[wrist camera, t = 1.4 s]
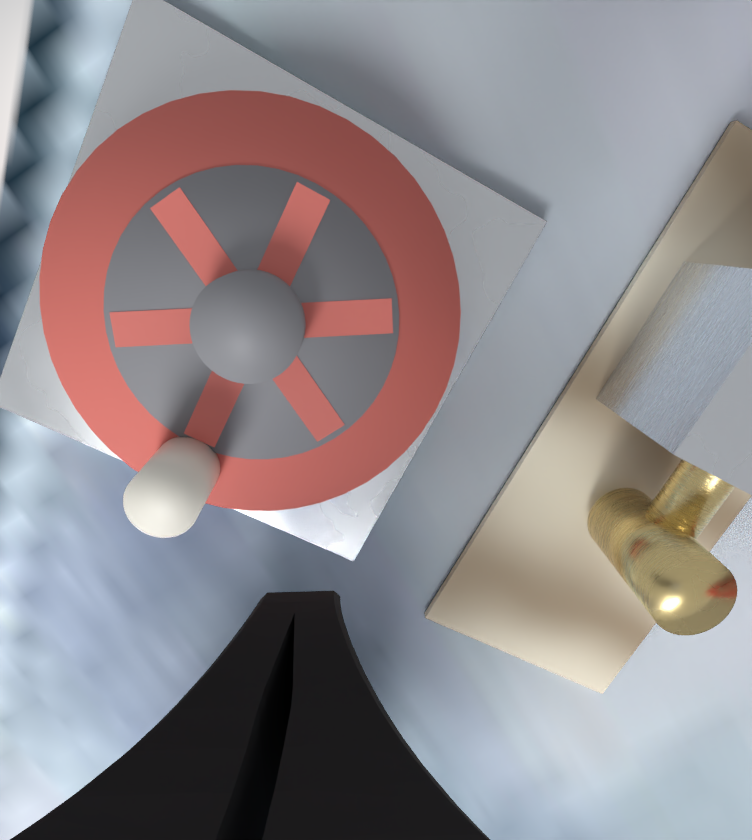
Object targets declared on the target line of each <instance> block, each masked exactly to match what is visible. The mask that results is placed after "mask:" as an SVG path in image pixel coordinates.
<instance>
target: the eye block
mask: <svg viewBox="0 0 752 840" xmlns="http://www.w3.org/2000/svg"><path fill="white" fill-rule="evenodd" d="M596 399H597V400H598V401H599V402H601V403H602V404H604V405H605V406H606V407H608V408H609V409H611V410H612V411H613V412H615V413H616V414H618V415H619V416H620V417H622V418H623V419H625V420H626V421H627V422H629V423H630V424H632V425H633V426H634V427H636V428H637V429H639V430H640V431H641V432H643V433H644V434H646V435H647V436H648V437H650V438H651V439H653V440H654V441H655V442H657V443H658V444H660V445H661V446H662V447H664V448H665V449H667V450H668V451H669V452H671V453H672V454H674V455H675V456H677V457H679V458H681V459H683V460H685V461H687V462H689V463H691V464H693V465H695V466H696V467H698V468H700V469H702V470H704V471H706V472H708V473H710V474H712V475H714V476H716V477H718V478H719V479H721V480H723V481H725V482H727V483H729V484H731V485H733V486H735V487H737V488H739V489H741V490H742V491H744V492H746V493H748V494H750V495H752V269H749V268H740V267H731V266H721V265H712V264H703V263H693V262H683V264H682V265H681V267H680V268H679V270H678V271H677V273H676V275H675V276H674V278H673V279H672V281H671V282H670V284H669V285H668V287H667V289H666V290H665V292H664V293H663V295H662V296H661V298H660V299H659V301H658V303H657V304H656V306H655V307H654V309H653V310H652V312H651V314H650V315H649V317H648V318H647V320H646V321H645V323H644V324H643V326H642V328H641V329H640V331H639V332H638V334H637V335H636V337H635V338H634V340H633V342H632V343H631V345H630V346H629V348H628V349H627V351H626V352H625V354H624V356H623V357H622V359H621V360H620V362H619V363H618V365H617V366H616V368H615V370H614V371H613V373H612V374H611V376H610V377H609V379H608V381H607V382H606V384H605V385H604V387H603V388H602V390H601V391H600V393H599V395H598V396H597V398H596Z"/></svg>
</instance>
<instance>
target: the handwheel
mask: <svg viewBox="0 0 752 840" xmlns="http://www.w3.org/2000/svg"><path fill="white" fill-rule="evenodd" d="M39 279H40V310H41V317H42V324H43V331H44V335H45V339H46V342H47V346H48V350H49V353H50V357H51V360H52V363H53V365H54V367H55V370H56V372H57V374H58V377H59V379H60V382H61V384H62V386H63V388H64V389H65V391H66V393H67V395H68V396H69V398H70V400H71V402H72V403H73V405H74V407H75V409H76V410H77V411H78V413H79V414H80V415H81V417H82V418H83V419H84V421H85V422H86V424H87V425H88V426H89V428H90V429H91V430H92V431H93V432H94V433H95V435H96V436H97V437H98V438H99V439H100V440H101V441H102V442H103V443H104V444H105V445H106V446H107V447H108V448H109V449H110V450H111V451H112V452H113V453H114V454H116V455H117V456H118V457H119V458H120V459H121V460H123V461H124V462H125V463H126V464H127V465H129V466H130V467H131V468H133V469H134V470H136V471H137V472H138V473H137V474H136V476H135V477H134V478H133V479H132V480H131V481H130V483H129V484H128V485H127V487H126V489H125V492H124V496H123V506H124V510H125V513H126V515H127V517H128V519H129V520H130V521H131V523H132V524H133V525H134V526H135V527H136V528H138V529H139V530H140V531H142V532H143V533H146V534H148V535H150V536H154V537H159V538H170V537H175V536H178V535H181V534H183V533H185V532H186V531H187V530H189V529H190V528H191V527H192V525H193V524H194V523H195V521H196V519H197V517H198V516H199V514H200V512H201V510H202V508H203V506H204V504H205V503H206V504H210V505H215V506H219V507H223V508H230V509H238V510H247V511H277V510H285V509H294V508H300V507H304V506H309V505H313V504H317V503H321V502H324V501H327V500H329V499H332V498H335V497H337V496H340V495H343V494H345V493H347V492H349V491H351V490H353V489H355V488H357V487H359V486H361V485H363V484H364V483H366V482H368V481H369V480H371V479H372V478H374V477H375V476H377V475H378V474H379V473H381V472H382V471H384V470H385V469H387V468H388V467H389V466H390V465H391V464H392V463H393V462H394V461H395V460H397V459H398V458H399V457H400V456H401V455H402V454H403V453H404V452H405V451H406V450H407V449H408V448H409V447H410V446H411V444H412V443H413V442H414V441H415V440H416V439H417V437H418V436H419V435H420V434H421V433H422V431H423V430H424V428H425V426H426V425H427V423H428V422H429V420H430V419H431V417H432V416H433V414H434V413H435V411H436V409H437V407H438V405H439V403H440V401H441V399H442V396H443V394H444V392H445V390H446V388H447V385H448V382H449V379H450V376H451V373H452V370H453V367H454V363H455V358H456V353H457V348H458V342H459V334H460V318H461V306H460V292H459V282H458V277H457V272H456V267H455V262H454V257H453V254H452V251H451V248H450V245H449V242H448V239H447V236H446V233H445V230H444V228H443V226H442V224H441V222H440V220H439V218H438V216H437V214H436V212H435V210H434V208H433V206H432V204H431V202H430V201H429V199H428V198H427V196H426V195H425V193H424V192H423V190H422V189H421V187H420V186H419V184H418V183H417V181H416V180H415V178H414V177H413V176H412V175H411V174H410V173H409V172H408V170H407V169H406V168H405V167H404V166H403V165H402V163H401V162H400V161H399V160H398V159H397V158H396V157H395V156H394V155H393V154H392V153H391V152H390V151H389V150H387V149H386V148H385V147H384V146H383V145H382V144H381V143H380V142H378V141H377V140H376V139H375V138H374V137H373V136H371V135H370V134H368V133H367V132H365V131H364V130H362V129H361V128H359V127H358V126H356V125H355V124H353V123H352V122H350V121H349V120H347V119H345V118H343V117H341V116H339V115H337V114H335V113H333V112H331V111H329V110H327V109H325V108H323V107H321V106H318V105H315V104H312V103H309V102H306V101H303V100H300V99H297V98H293V97H290V96H285V95H279V94H274V93H268V92H262V91H241V90H226V91H218V92H209V93H200V94H196V95H192V96H188V97H185V98H181V99H177V100H174V101H170V102H168V103H165V104H163V105H161V106H159V107H156V108H154V109H152V110H150V111H147V112H145V113H143V114H141V115H140V116H138V117H136V118H135V119H133V120H132V121H130V122H129V123H127V124H125V125H124V126H122V127H121V128H119V129H118V130H116V131H115V132H114V133H113V134H112V135H111V136H110V137H108V138H107V139H106V140H105V141H104V142H103V143H101V144H100V145H99V146H98V147H97V148H96V149H95V150H94V151H93V152H92V154H91V155H90V156H89V157H88V158H87V159H86V161H85V162H84V163H83V164H82V165H81V166H80V168H79V169H78V170H77V171H76V173H75V175H74V176H73V178H72V179H71V181H70V183H69V184H68V186H67V188H66V189H65V191H64V192H63V194H62V196H61V198H60V200H59V203H58V205H57V207H56V210H55V212H54V214H53V217H52V219H51V221H50V225H49V229H48V232H47V236H46V240H45V243H44V247H43V253H42V261H41V269H40V277H39Z"/></svg>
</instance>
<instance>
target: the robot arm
mask: <svg viewBox="0 0 752 840" xmlns="http://www.w3.org/2000/svg"><path fill="white" fill-rule="evenodd" d="M10 840H490V839H489V838H488V837H487V836H486V835H485V834H484V833H483V832H482V831H481V830H480V829H479V828H478V827H477V826H476V825H475V824H474V823H473V822H472V821H471V820H470V819H469V817H468V816H467V815H466V814H465V813H464V812H463V811H462V810H461V809H460V808H459V807H458V806H457V805H456V804H455V802H454V801H453V800H452V799H451V798H450V796H449V795H448V794H447V793H446V792H445V791H444V789H443V788H442V787H441V786H440V785H439V783H438V782H437V781H436V780H435V779H434V778H433V776H432V775H431V774H430V773H429V772H428V770H427V769H426V768H425V767H424V766H423V764H422V763H421V762H420V761H419V759H418V758H417V756H416V755H415V754H414V752H413V751H412V750H411V748H410V747H409V745H408V744H407V743H406V741H405V740H404V739H403V737H402V736H401V734H400V733H399V731H398V730H397V728H396V727H395V725H394V724H393V722H392V721H391V719H390V717H389V716H388V714H387V712H386V711H385V709H384V707H383V706H382V704H381V702H380V701H379V699H378V697H377V695H376V693H375V692H374V690H373V688H372V686H371V684H370V682H369V680H368V678H367V676H366V674H365V672H364V670H363V668H362V666H361V664H360V662H359V659H358V657H357V655H356V652H355V650H354V648H353V646H352V643H351V641H350V638H349V635H348V632H347V629H346V626H345V623H344V620H343V616H342V612H341V606H340V596H339V595H338V594H337V593H336V592H335V591H311V592H276V593H267V594H266V595H265V596H264V597H263V598H262V599H261V600H260V602H259V603H258V605H257V606H256V607H255V609H254V610H253V612H252V613H251V615H250V616H249V618H248V619H247V620H246V622H245V623H244V624H243V626H242V627H241V629H240V630H239V631H238V633H237V634H236V635H235V637H234V638H233V639H232V640H231V642H230V643H229V644H228V646H227V647H226V648H225V649H224V651H223V652H222V653H221V654H220V656H219V657H218V658H217V659H216V661H215V662H214V663H213V664H212V665H211V667H210V668H209V669H208V670H207V671H206V673H205V674H204V675H203V676H202V677H201V678H200V679H199V680H198V681H197V683H196V684H195V685H194V686H193V687H192V688H191V689H190V690H189V691H188V693H187V694H186V695H185V696H184V697H183V698H182V699H181V700H180V701H179V703H178V704H177V705H176V706H175V707H174V708H173V709H172V710H171V711H170V712H169V713H168V714H167V715H166V716H165V717H164V718H163V719H162V720H161V721H160V722H159V723H158V724H157V725H156V726H155V727H154V728H153V729H152V730H151V731H149V732H148V733H147V734H146V735H145V736H144V737H143V738H142V739H141V740H140V741H139V742H138V743H137V744H136V745H134V746H133V747H132V748H131V749H130V750H129V751H128V752H126V753H125V754H124V755H123V756H122V757H121V758H119V759H118V760H117V761H116V762H114V763H113V764H112V765H111V766H109V767H108V768H107V769H106V770H104V771H103V772H102V773H101V774H100V775H98V776H97V777H96V778H95V779H93V780H92V781H91V782H90V783H88V784H87V785H86V786H85V787H83V788H82V789H81V790H80V791H78V792H77V793H76V794H74V795H73V796H72V797H70V798H69V799H68V800H66V801H65V802H64V803H62V804H61V805H59V806H58V807H57V808H55V809H54V810H52V811H51V812H50V813H48V814H47V815H46V816H44V817H43V818H41V819H40V820H38V821H37V822H35V823H34V824H32V825H31V826H30V827H28V828H27V829H25V830H24V831H22V832H21V833H19V834H18V835H16V836H15V837H13V838H12V839H10Z"/></svg>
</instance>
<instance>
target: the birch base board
mask: <svg viewBox="0 0 752 840" xmlns="http://www.w3.org/2000/svg"><path fill="white" fill-rule="evenodd" d="M683 262H693V263H703V264H712V265H721V266H731V267H740V268H749V269H752V130H751V129H749V128H748V127H746V126H745V125H743V124H742V123H740V122H739V121H737V120H736V121H733V122H730V124H729V126H728V127H727V129H726V130H725V132H724V134H723V135H722V137H721V138H720V140H719V142H718V143H717V145H716V147H715V148H714V150H713V151H712V153H711V155H710V156H709V158H708V159H707V161H706V163H705V164H704V166H703V167H702V169H701V171H700V172H699V174H698V175H697V177H696V179H695V180H694V182H693V183H692V185H691V187H690V188H689V190H688V191H687V193H686V195H685V196H684V198H683V199H682V201H681V203H680V204H679V206H678V207H677V209H676V211H675V212H674V214H673V215H672V217H671V219H670V220H669V222H668V223H667V225H666V227H665V228H664V230H663V231H662V233H661V235H660V236H659V238H658V240H657V241H656V243H655V244H654V246H653V248H652V249H651V251H650V252H649V254H648V256H647V257H646V259H645V260H644V262H643V264H642V265H641V267H640V268H639V270H638V272H637V273H636V275H635V276H634V278H633V280H632V281H631V283H630V284H629V286H628V288H627V289H626V291H625V292H624V294H623V296H622V297H621V299H620V300H619V302H618V304H617V305H616V307H615V308H614V310H613V312H612V313H611V315H610V316H609V318H608V320H607V321H606V323H605V324H604V326H603V328H602V329H601V331H600V332H599V334H598V336H597V337H596V339H595V341H594V342H593V344H592V345H591V347H590V349H589V350H588V352H587V353H586V355H585V357H584V358H583V360H582V361H581V363H580V365H579V366H578V368H577V369H576V371H575V373H574V374H573V376H572V377H571V379H570V381H569V382H568V384H567V385H566V387H565V389H564V390H563V392H562V393H561V395H560V397H559V398H558V400H557V401H556V403H555V405H554V406H553V408H552V409H551V411H550V413H549V414H548V416H547V417H546V419H545V421H544V422H543V424H542V425H541V427H540V429H539V430H538V432H537V433H536V435H535V437H534V438H533V440H532V442H531V443H530V445H529V446H528V448H527V450H526V451H525V453H524V454H523V456H522V458H521V459H520V461H519V462H518V464H517V466H516V467H515V469H514V470H513V472H512V474H511V475H510V477H509V478H508V480H507V482H506V483H505V485H504V486H503V488H502V490H501V491H500V493H499V494H498V496H497V498H496V499H495V501H494V502H493V504H492V506H491V507H490V509H489V510H488V512H487V514H486V515H485V517H484V518H483V520H482V522H481V523H480V525H479V526H478V528H477V530H476V531H475V533H474V535H473V536H472V538H471V539H470V541H469V543H468V544H467V546H466V547H465V549H464V551H463V552H462V554H461V555H460V557H459V559H458V560H457V562H456V563H455V565H454V567H453V568H452V570H451V571H450V573H449V575H448V576H447V578H446V579H445V581H444V583H443V584H442V586H441V587H440V589H439V591H438V592H437V594H436V595H435V597H434V599H433V600H432V602H431V603H430V605H429V607H428V608H427V610H426V611H425V613H424V614H425V618H426V619H429V620H431V621H433V622H436V623H438V624H440V625H443V626H445V627H447V628H450V629H452V630H454V631H457V632H459V633H461V634H464V635H466V636H468V637H471V638H473V639H475V640H478V641H480V642H482V643H485V644H487V645H489V646H492V647H494V648H496V649H499V650H501V651H503V652H506V653H508V654H510V655H513V656H515V657H517V658H520V659H522V660H524V661H527V662H529V663H531V664H534V665H536V666H538V667H541V668H543V669H545V670H548V671H550V672H552V673H555V674H557V675H559V676H562V677H564V678H566V679H569V680H571V681H573V682H576V683H578V684H580V685H583V686H585V687H587V688H590V689H592V690H594V691H597V692H599V693H601V694H603V693H604V691H605V690H606V689H607V687H608V686H609V685H610V683H611V682H612V681H613V679H614V678H615V677H616V675H617V674H618V673H619V671H620V670H621V669H622V667H623V666H624V665H625V663H626V662H627V661H628V659H629V658H630V657H631V655H632V654H633V653H634V651H635V650H636V649H637V647H638V646H639V645H640V643H641V642H642V641H643V639H644V638H645V637H646V635H647V634H648V633H649V631H650V630H651V629H652V627H653V626H654V625H655V623H656V622H655V620H654V619H653V618H652V616H651V615H650V614H649V612H648V611H647V610H646V609H645V607H644V606H643V605H642V603H641V602H640V601H639V599H638V598H637V597H636V595H635V594H634V593H633V591H632V590H631V589H630V588H629V586H628V585H627V584H626V582H625V581H624V580H623V578H622V577H621V576H620V574H619V573H618V572H617V571H616V569H615V568H614V567H613V565H612V564H611V563H610V561H609V560H608V559H607V557H606V556H605V555H604V553H603V552H602V551H601V550H600V548H599V547H598V546H597V544H596V543H595V542H594V540H593V539H592V538H591V536H590V534H589V531H588V526H587V521H588V516H589V512H590V510H591V508H592V507H593V505H594V504H595V502H596V501H597V500H598V499H599V498H600V497H602V496H603V495H605V494H606V493H608V492H610V491H612V490H615V489H619V488H633V489H637V490H640V491H642V492H644V493H645V494H646V495H648V496H649V497H650V498H651V499H652V500H654V498H655V497H656V496H657V494H658V493H659V491H660V490H661V488H662V487H663V486H664V484H665V483H666V481H667V480H668V478H669V477H670V476H671V474H672V473H673V471H674V470H675V469H676V467H677V466H678V464H679V463H680V461H681V460H682V459H681V458H679V457H677V456H675V455H674V454H672V453H671V452H669V451H668V450H667V449H665V448H664V447H662V446H661V445H660V444H658V443H657V442H655V441H654V440H653V439H651V438H650V437H648V436H647V435H646V434H644V433H643V432H641V431H640V430H639V429H637V428H636V427H634V426H633V425H632V424H630V423H629V422H627V421H626V420H625V419H623V418H622V417H620V416H619V415H618V414H616V413H615V412H613V411H612V410H611V409H609V408H608V407H606V406H605V405H604V404H602V403H601V402H599V401H598V400H597V399H596V398H597V396H598V395H599V393H600V391H601V390H602V388H603V387H604V385H605V384H606V382H607V381H608V379H609V377H610V376H611V374H612V373H613V371H614V370H615V368H616V366H617V365H618V363H619V362H620V360H621V359H622V357H623V356H624V354H625V352H626V351H627V349H628V348H629V346H630V345H631V343H632V342H633V340H634V338H635V337H636V335H637V334H638V332H639V331H640V329H641V328H642V326H643V324H644V323H645V321H646V320H647V318H648V317H649V315H650V314H651V312H652V310H653V309H654V307H655V306H656V304H657V303H658V301H659V299H660V298H661V296H662V295H663V293H664V292H665V290H666V289H667V287H668V285H669V284H670V282H671V281H672V279H673V278H674V276H675V275H676V273H677V271H678V270H679V268H680V267H681V265H682V264H683ZM751 496H752V495H750V494H748V493H746V492H744V491H742V490H741V489H739V488H737V487H735V488H734V489H733V491H732V492H731V493H730V495H729V496H728V497H727V499H726V500H725V501H724V503H723V504H722V506H721V507H720V508H719V510H718V511H717V512H716V514H715V515H714V516H713V518H712V519H711V520H710V522H709V523H708V524H707V526H706V527H705V528H704V530H703V531H702V533H701V534H700V535H699V537H698V538H697V539H696V540H697V541H698V542H699V543H700V544H701V545H702V546H703V547H704V548H705V549H707V550H708V551H709V552H710V550H711V549H712V548H713V546H714V545H715V544H716V542H717V541H718V540H719V538H720V537H721V536H722V534H723V533H724V532H725V530H726V529H727V528H728V526H729V525H730V524H731V523H732V521H733V520H734V519H735V517H736V516H737V515H738V513H739V512H740V511H741V509H742V508H743V507H744V505H745V504H746V503H747V501H748V500H749V499H750V497H751Z"/></svg>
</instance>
